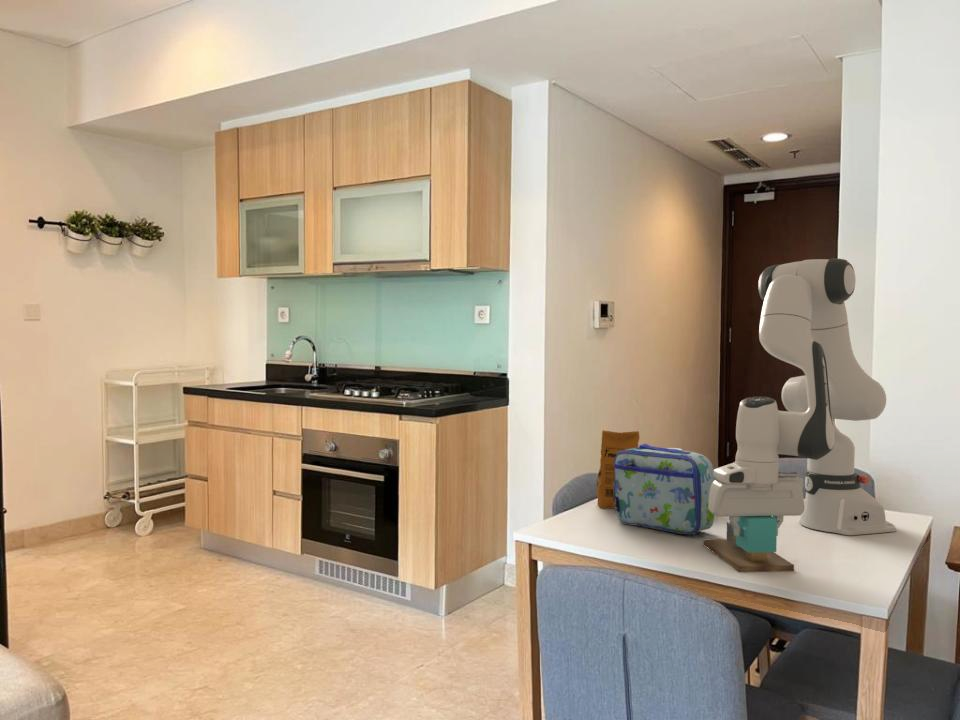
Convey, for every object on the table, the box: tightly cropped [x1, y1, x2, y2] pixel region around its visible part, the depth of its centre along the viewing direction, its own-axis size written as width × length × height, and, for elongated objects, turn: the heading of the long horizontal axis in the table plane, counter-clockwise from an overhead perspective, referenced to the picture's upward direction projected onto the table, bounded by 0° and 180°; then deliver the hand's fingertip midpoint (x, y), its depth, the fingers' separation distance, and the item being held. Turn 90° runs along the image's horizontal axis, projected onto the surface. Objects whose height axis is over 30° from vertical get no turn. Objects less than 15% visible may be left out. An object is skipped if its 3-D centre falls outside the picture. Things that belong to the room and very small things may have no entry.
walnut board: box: [702, 538, 795, 573], centre depth 166 cm, size 12×20×1 cm, turn 4°
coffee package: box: [596, 429, 640, 509], centre depth 214 cm, size 10×12×22 cm
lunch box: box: [613, 443, 716, 536], centre depth 191 cm, size 26×11×21 cm, turn 43°
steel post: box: [726, 521, 739, 548], centre depth 171 cm, size 3×3×6 cm
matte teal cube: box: [736, 516, 778, 553], centre depth 161 cm, size 6×6×7 cm
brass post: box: [745, 551, 767, 561], centre depth 161 cm, size 3×3×6 cm
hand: (755, 535), depth 161 cm, fingers closed on matte teal cube, 6 cm apart
